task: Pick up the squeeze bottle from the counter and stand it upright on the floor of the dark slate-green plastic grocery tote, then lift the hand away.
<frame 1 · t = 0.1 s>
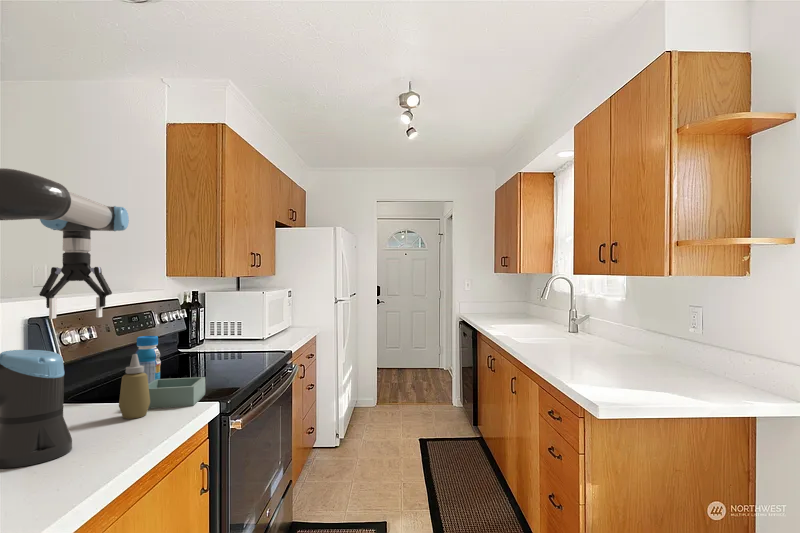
hand: (76, 318, 154), 28 cm above the countertop, fingers open, 13 cm apart
beverage bottle: (147, 393, 168), on the countertop
squeeze bottle: (134, 417, 138), on the countertop
tote: (174, 401, 156), on the countertop
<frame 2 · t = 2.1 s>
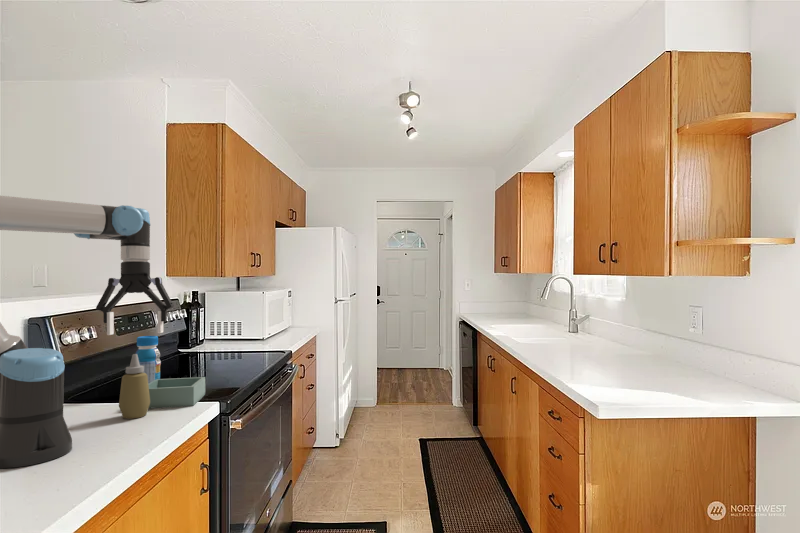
hand: (135, 333, 139), 24 cm above the countertop, fingers open, 13 cm apart
nothing on the countertop moved.
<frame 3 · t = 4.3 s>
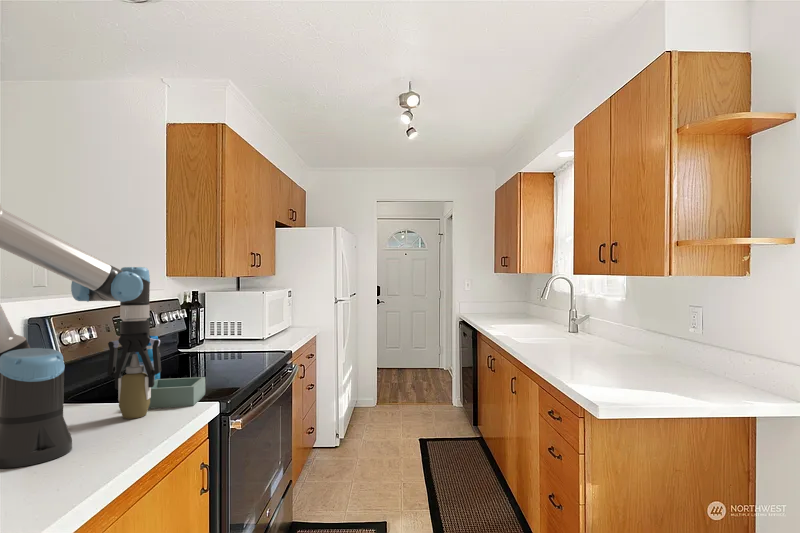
hand: (134, 399, 138), 5 cm above the countertop, fingers closed on squeeze bottle, 6 cm apart
squeeze bottle: (134, 417, 138), on the countertop, touching gripper
everything else where it was.
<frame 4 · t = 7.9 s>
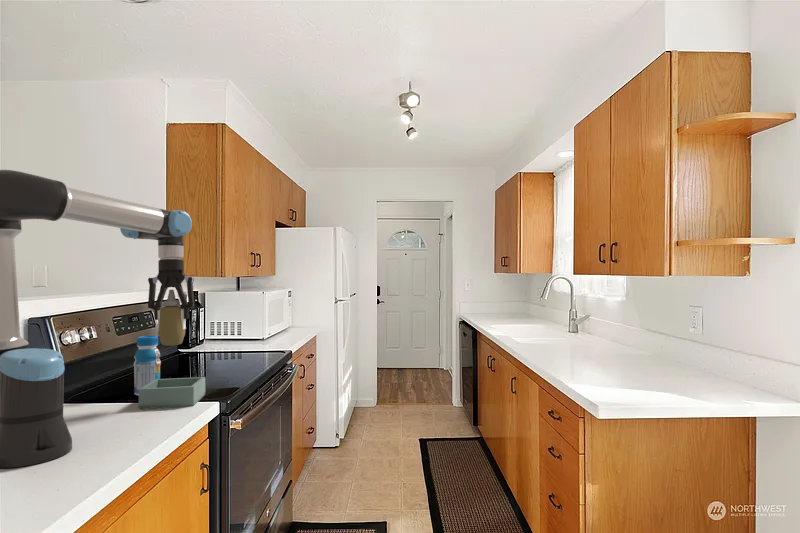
hand: (171, 329, 155), 24 cm above the countertop, fingers closed on squeeze bottle, 6 cm apart
squeeze bottle: (172, 345, 155), point 18 cm above the countertop, touching gripper
everything else where it was.
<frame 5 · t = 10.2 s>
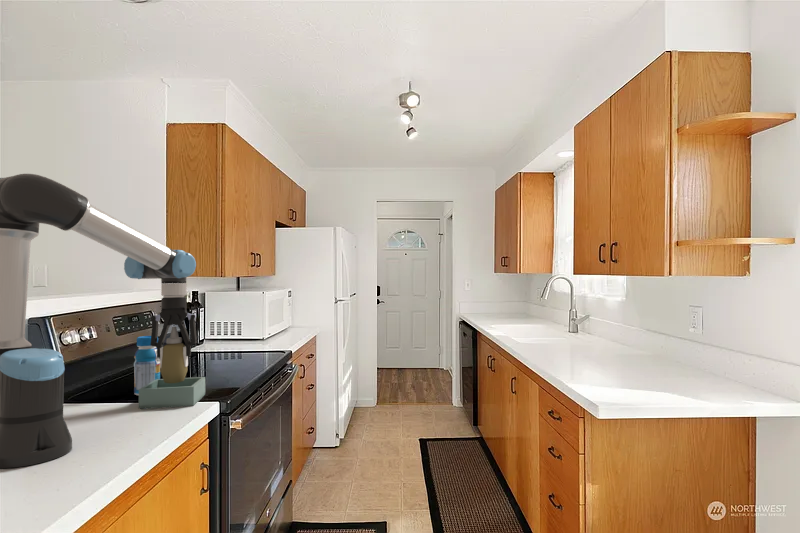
hand: (174, 366, 156), 11 cm above the countertop, fingers closed on squeeze bottle, 6 cm apart
squeeze bottle: (174, 382, 156), point 6 cm above the countertop, touching gripper
everything else where it was.
when the fingers open (7 cm above the countertop, at t = 11.8 s): squeeze bottle drops 1 cm, resting on tote.
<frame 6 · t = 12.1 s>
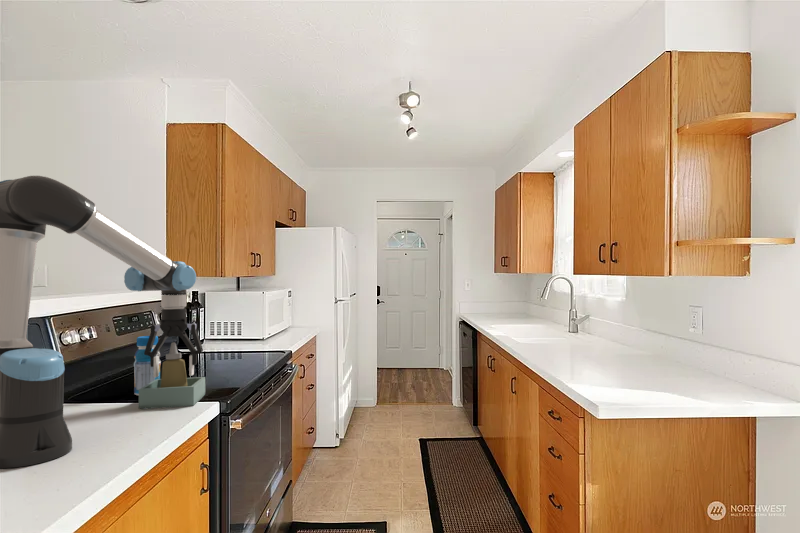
hand: (174, 375, 156), 8 cm above the countertop, fingers open, 10 cm apart
squeeze bottle: (174, 398, 156), point 1 cm above the countertop, touching tote
everything else where it was.
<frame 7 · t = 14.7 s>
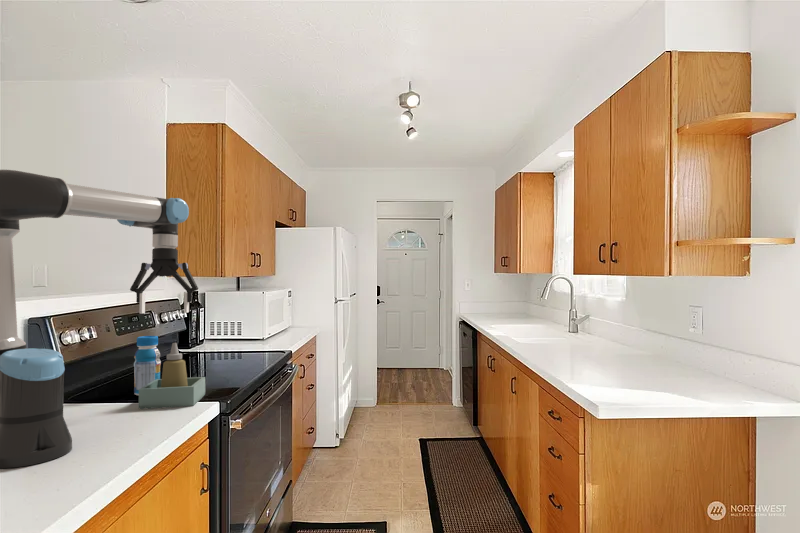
hand: (164, 313, 155), 29 cm above the countertop, fingers open, 13 cm apart
nothing on the countertop moved.
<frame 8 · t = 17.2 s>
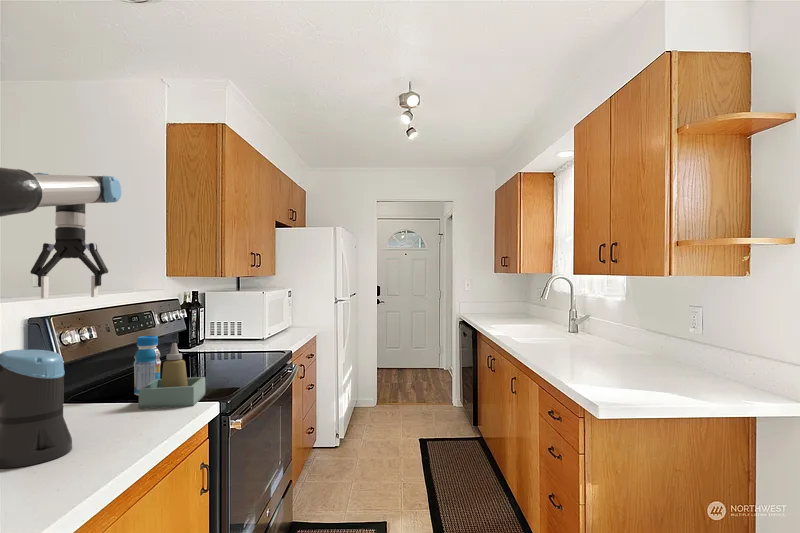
hand: (69, 297, 144), 35 cm above the countertop, fingers open, 13 cm apart
nothing on the countertop moved.
at the end: squeeze bottle inside the target area on the tote (0.1 cm from its centre), point 0.8 cm above the tote's base; squeeze bottle tilted 0°; the gripper is holding nothing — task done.
